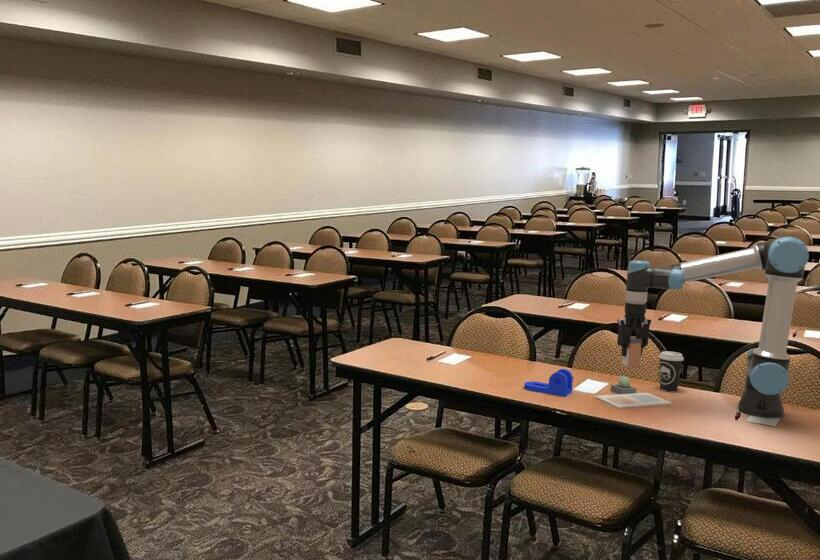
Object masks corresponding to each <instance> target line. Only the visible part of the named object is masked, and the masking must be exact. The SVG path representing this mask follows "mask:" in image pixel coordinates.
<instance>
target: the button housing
mask: <svg viewBox="0 0 820 560" xmlns="http://www.w3.org/2000/svg"><path fill="white" fill-rule="evenodd" d="M618 385H619V383H617V384H614V383H613V384H611V385H610V392H613V393H615V394H631V393H637V387H635V386H632V385H630V384H629V388H621V387H618Z"/></svg>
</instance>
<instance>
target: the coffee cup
mask: <svg viewBox="0 0 820 560" xmlns="http://www.w3.org/2000/svg"><path fill="white" fill-rule="evenodd" d="M658 358H659V372H660V373H659V385H660V387H659V388H661V389H663V390H662V391H664V390H667V391H666V392H670V391H675V392H677V391H678V388H679V383H680V377H681V371H682V365H683V362H684V361H685V359H684V356H683V354H682V353H680V352H678V351H677V352H676V351H669V350H668V351H666V350H665V351H661V352H660V354H659V356H658ZM661 389H660V390H661ZM676 390H677V391H676Z"/></svg>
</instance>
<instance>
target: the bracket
mask: <svg viewBox="0 0 820 560" xmlns="http://www.w3.org/2000/svg"><path fill="white" fill-rule="evenodd" d="M573 381H574V376H573V374H572V372H571V371H570V370H569V369H567V368H561V369H558V370H557V371H555V372H554V373H552V374H551V375H550V376H549V378H548V383H547V382H541V381H525V382H524V384H523V385H524V387H523V388H524V390H526V391H530V392H535V393H541V394H549V395H551V396H559V397H563V398H564V397H565V398H566V397H567V396H569V395H570V394H572V393H573V383H574V382H573Z"/></svg>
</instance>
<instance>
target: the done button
mask: <svg viewBox="0 0 820 560" xmlns="http://www.w3.org/2000/svg"><path fill="white" fill-rule="evenodd" d="M618 384H619V385H618V387H621V388H629V385H630V377H628V376H619V377H618Z"/></svg>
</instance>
